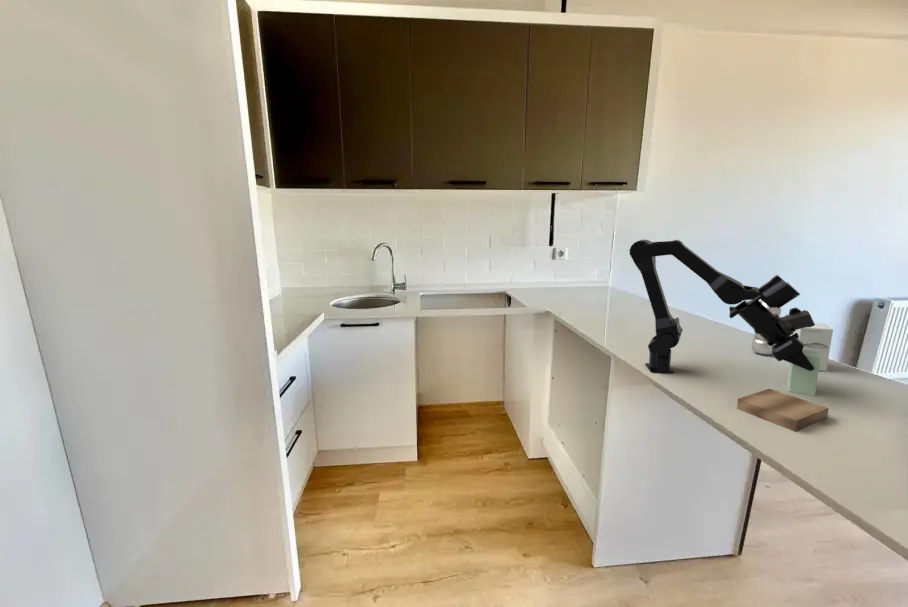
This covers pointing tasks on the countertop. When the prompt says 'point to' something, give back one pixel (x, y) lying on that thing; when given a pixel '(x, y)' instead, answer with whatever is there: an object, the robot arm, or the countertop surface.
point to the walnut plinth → (783, 409)
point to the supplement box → (817, 341)
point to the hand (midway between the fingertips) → (810, 366)
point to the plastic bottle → (759, 342)
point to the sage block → (804, 375)
